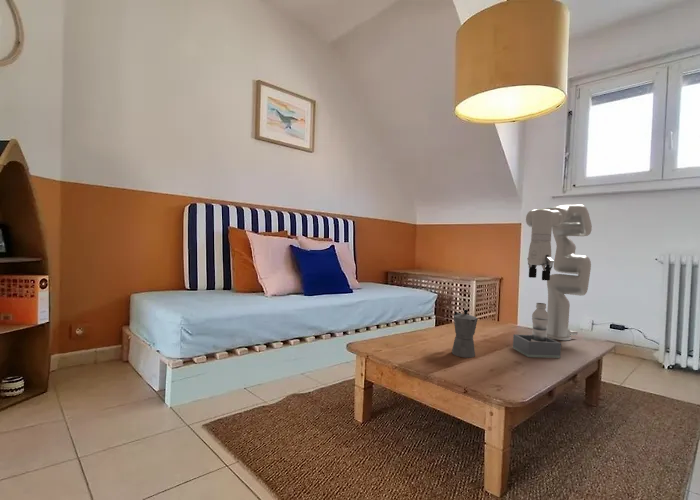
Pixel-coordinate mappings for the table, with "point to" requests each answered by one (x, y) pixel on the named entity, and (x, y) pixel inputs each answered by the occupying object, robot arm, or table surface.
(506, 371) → the table surface
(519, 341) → the grey open box
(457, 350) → the coffeepot
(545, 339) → the plastic bottle
